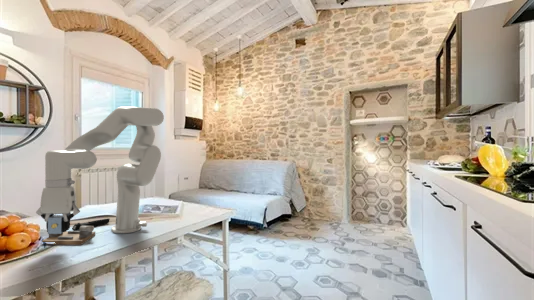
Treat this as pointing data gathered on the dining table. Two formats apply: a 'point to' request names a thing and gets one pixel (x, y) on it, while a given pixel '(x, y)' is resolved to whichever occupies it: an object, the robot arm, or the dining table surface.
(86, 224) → the electric trimmer
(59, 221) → the blue grey block
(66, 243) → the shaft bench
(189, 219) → the dining table surface
